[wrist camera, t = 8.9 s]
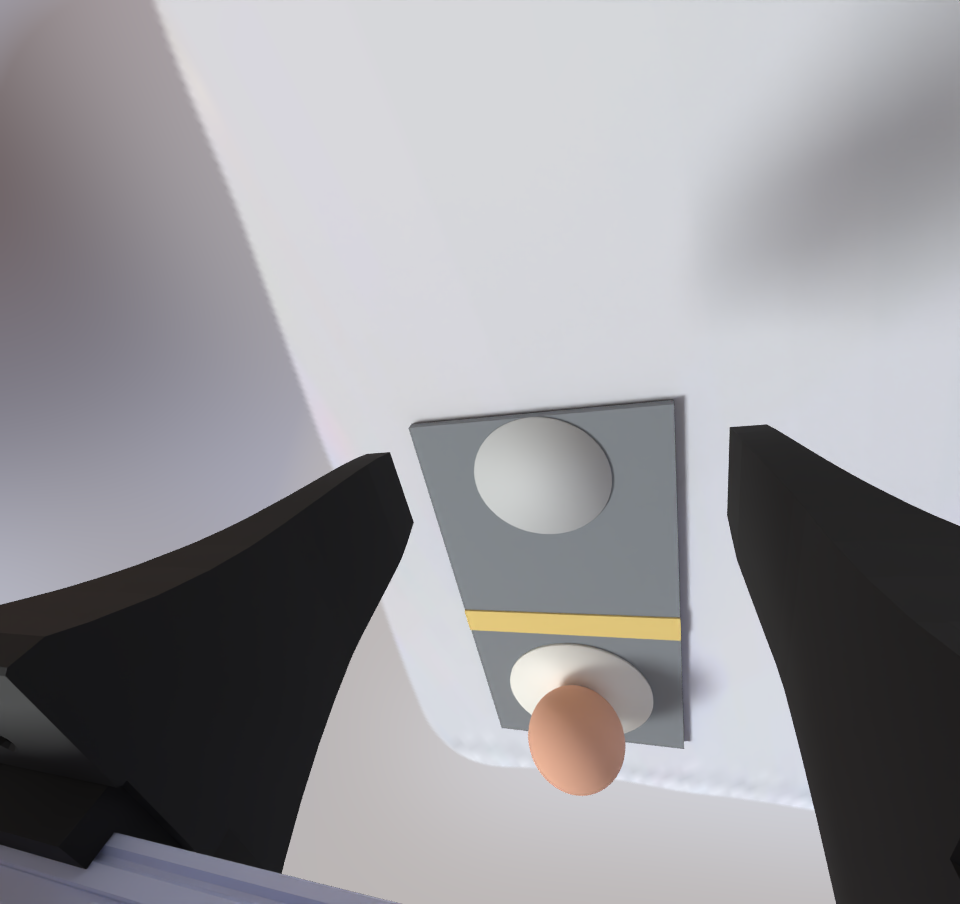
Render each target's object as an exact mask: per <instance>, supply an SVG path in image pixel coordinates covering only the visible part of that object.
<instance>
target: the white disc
mask: <svg viewBox="0 0 960 904" xmlns="http://www.w3.org/2000/svg"><path fill="white" fill-rule="evenodd" d="M510 684H511V689H512V692H513V694H514V696H515V698H516V699H517V701H518V702H519V703H520V705H521V706H522V707H523V708H524V709H525V710H526V711H527V712H529V713H530V714H531V715H532V713H533V711H534V709H535V707H536V705H537V704H538V702H539V701H540V700H541V699H542V698H543V697H544V696H545V695H546V694H547V693H548V692H550V691H552V690H554V689H555V688H558V687H561V686H566V685H577V686H583V687H586V688H589V689H591V690H593V691H595V692H597V693H598V694H600V695H601V696H602V697H603V698H605V699H606V700H607V701H608V702H609V704H610V705H611V706H612V707H613V709H614V710H615V712H616V713H617V715H618V717H619V719H620V722H621V724H622V727H623V731H624V733H628V732H630V731H632V730H635V729H636V728H638V727H640V726H641V725H642V724H643V723H645V722H646V720H647V719H648V718H649V716H650V714H651V713H652V709H653V694H652V690H651V687H650V685H649V683H648V681H647V680H646V678H645V677H644V676H643V675H642V673H641V672H640V671H639V670H637V669H636V668H635V667H634V666H633V665H631V664H630V663H629V662H627V661H626V660H624V659H622V658H621V657H619V656H617V655H615V654H613V653H610V652H608V651H605V650H602V649H600V648H596V647H592V646H588V645H582V644H574V643H556V644H548V645H543V646H540V647H537V648H534V649H532V650H530V651H528V652H526V653H525V654H523V655H522V656H521V657H520V658H519V659H518V660H517V661H516V662H515V664H514V666H513V668H512V672H511V676H510Z"/></svg>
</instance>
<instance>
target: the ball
mask: <svg viewBox="0 0 960 904" xmlns="http://www.w3.org/2000/svg"><path fill="white" fill-rule="evenodd" d="M528 740H529V746H530V752H531V755H532V758H533V760H534V762H535V765H536V766H537V768H538V770H539V771H540V773H541V774H542V775H543V777H544V778H545V779H546V780H547V781H548V782H549V783H550V784H552V785H553V786H554V787H556V788H557V789H559V790H561V791H563V792H565V793H568V794H572V795H579V796H585V795H591V794H595V793H597V792H600V791H601V790H603V789H605V788H606V787H607V786H608V785H610V784H611V783H612V782H613V780H614V779H615V778H616V777H617V775H618V773H619V771H620V769H621V767H622V764H623V760H624V755H625V736H624V731H623V727H622V724H621V722H620V719H619V717H618V715H617V713H616V712H615V710H614V709H613V707H612V706H611V705H610V704H609V702H608V701H607V700H606V699H605V698H603V697H602V696H601V695H600V694H598V693H597V692H595V691H593V690H591V689H589V688H586V687H583V686H577V685H566V686H561V687H558V688H555V689H554V690H552V691H550V692H548V693H547V694H546V695H545V696H544V697H543V698H542V699H541V700H540V701H539V702H538V704H537V705H536V707H535V709H534V711H533V713H532V716H531V719H530V723H529V731H528Z"/></svg>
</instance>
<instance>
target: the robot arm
mask: <svg viewBox="0 0 960 904" xmlns="http://www.w3.org/2000/svg"><path fill="white" fill-rule="evenodd" d="M727 516H728V521H729V526H730V530H731V535H732V540H733V544H734V549H735V553H736V557H737V561H738V564H739V566H740V569H741V572H742V575H743V577H744V580H745V583H746V585H747V588H748V591H749V593H750V596H751V599H752V601H753V604H754V607H755V609H756V612H757V615H758V617H759V620H760V623H761V625H762V628H763V631H764V633H765V636H766V639H767V641H768V644H769V647H770V649H771V652H772V655H773V657H774V660H775V663H776V665H777V668H778V671H779V675H780V678H781V681H782V684H783V687H784V690H785V694H786V697H787V701H788V705H789V709H790V713H791V717H792V721H793V725H794V728H795V732H796V736H797V740H798V744H799V748H800V752H801V756H802V760H803V764H804V768H805V772H806V776H807V780H808V785H809V789H810V793H811V797H812V801H813V805H814V809H815V813H816V817H817V821H818V826H819V830H820V834H821V839H822V843H823V848H824V852H825V856H826V861H827V865H828V870H829V874H830V878H831V883H832V887H833V891H834V896H835V900H836V904H960V526H958V525H956V524H953V523H951V522H949V521H946V520H944V519H941V518H939V517H937V516H934V515H932V514H930V513H928V512H925V511H923V510H921V509H919V508H917V507H915V506H912V505H910V504H908V503H906V502H904V501H902V500H900V499H898V498H896V497H894V496H892V495H890V494H888V493H886V492H884V491H882V490H880V489H878V488H876V487H874V486H872V485H870V484H868V483H867V482H865V481H863V480H861V479H859V478H857V477H856V476H854V475H852V474H850V473H848V472H846V471H845V470H843V469H841V468H839V467H838V466H836V465H834V464H833V463H831V462H829V461H827V460H826V459H824V458H822V457H821V456H819V455H817V454H816V453H814V452H812V451H811V450H809V449H807V448H806V447H804V446H802V445H801V444H799V443H797V442H796V441H794V440H793V439H791V438H789V437H788V436H786V435H784V434H783V433H781V432H779V431H778V430H776V429H774V428H772V427H770V426H768V425H754V426H741V427H730V439H729V473H728V508H727ZM413 523H414V522H413V519H412V516H411V513H410V510H409V507H408V504H407V502H406V499H405V496H404V493H403V490H402V487H401V484H400V481H399V478H398V475H397V472H396V469H395V466H394V463H393V460H392V457H391V454H390V452H387V453H374V454H366V455H363V456H361V457H358V458H356V459H354V460H352V461H350V462H348V463H346V464H344V465H342V466H340V467H338V468H336V469H335V470H333V471H331V472H330V473H328V474H326V475H324V476H322V477H320V478H319V479H317V480H315V481H313V482H312V483H310V484H308V485H307V486H305V487H303V488H301V489H299V490H298V491H296V492H294V493H293V494H291V495H289V496H287V497H286V498H284V499H282V500H280V501H278V502H276V503H274V504H272V505H271V506H269V507H267V508H265V509H263V510H261V511H259V512H258V513H256V514H254V515H252V516H250V517H248V518H246V519H244V520H242V521H240V522H238V523H236V524H234V525H232V526H230V527H228V528H226V529H224V530H222V531H220V532H217V533H215V534H213V535H211V536H209V537H206V538H204V539H202V540H200V541H197V542H195V543H193V544H190V545H188V546H185V547H183V548H180V549H178V550H175V551H172V552H170V553H167V554H164V555H162V556H160V557H157V558H154V559H152V560H149V561H147V562H144V563H141V564H139V565H136V566H133V567H130V568H127V569H124V570H121V571H118V572H115V573H112V574H109V575H106V576H103V577H100V578H97V579H93V580H90V581H87V582H83V583H80V584H77V585H74V586H70V587H67V588H63V589H60V590H56V591H53V592H49V593H45V594H41V595H37V596H33V597H30V598H25V599H22V600H18V601H14V602H10V603H6V604H2V605H0V904H400V903H397V902H392V901H388V900H384V899H380V898H376V897H372V896H368V895H364V894H360V893H356V892H352V891H348V890H344V889H340V888H336V887H332V886H328V885H324V884H320V883H316V882H312V881H308V880H304V879H300V878H296V877H292V876H288V875H284V874H282V870H283V866H284V862H285V858H286V854H287V851H288V847H289V843H290V840H291V836H292V832H293V829H294V825H295V821H296V818H297V814H298V811H299V807H300V803H301V800H302V796H303V793H304V790H305V787H306V784H307V781H308V777H309V774H310V771H311V768H312V765H313V762H314V758H315V755H316V752H317V749H318V745H319V743H320V740H321V737H322V734H323V732H324V729H325V726H326V723H327V720H328V717H329V715H330V712H331V709H332V706H333V703H334V701H335V698H336V695H337V693H338V690H339V688H340V685H341V683H342V680H343V677H344V675H345V672H346V670H347V667H348V664H349V662H350V660H351V657H352V655H353V653H354V651H355V649H356V646H357V644H358V642H359V640H360V638H361V636H362V634H363V632H364V630H365V629H366V627H367V625H368V623H369V621H370V619H371V617H372V615H373V613H374V611H375V609H376V607H377V606H378V604H379V602H380V600H381V598H382V596H383V594H384V592H385V590H386V588H387V586H388V584H389V582H390V581H391V579H392V577H393V575H394V573H395V571H396V569H397V567H398V565H399V563H400V560H401V558H402V556H403V553H404V550H405V547H406V545H407V542H408V539H409V535H410V532H411V529H412V526H413Z"/></svg>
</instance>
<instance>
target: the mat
mask: <svg viewBox="0 0 960 904" xmlns="http://www.w3.org/2000/svg"><path fill="white" fill-rule="evenodd" d="M409 431H410V434H411V437H412V441H413V444H414V447H415V450H416V453H417V457H418V460H419V463H420V466H421V470H422V473H423V476H424V479H425V482H426V486H427V489H428V492H429V495H430V498H431V502H432V505H433V508H434V511H435V515H436V518H437V521H438V524H439V527H440V531H441V534H442V537H443V540H444V544H445V547H446V550H447V553H448V556H449V560H450V563H451V566H452V569H453V572H454V576H455V579H456V582H457V585H458V589H459V592H460V595H461V598H462V601H463V605H464V608H465V614H466V617H467V620H468V624H469V627H470V630H472V634H473V637H474V640H475V643H476V646H477V650H478V653H479V656H480V659H481V663H482V666H483V669H484V672H485V675H486V679H487V682H488V685H489V688H490V691H491V695H492V698H493V701H494V704H495V708H496V711H497V714H498V717H499V720H500V724H501V727H502V728H507V729H516V730H524V731H529V723H530V719H531V716H532V715H531V714H530V713H529V712H527V711H526V710H525V709H524V708H523V707H522V706H521V705H520V703H519V702H518V701H517V699H516V698H515V696H514V694H513V692H512V689H511V684H510V676H511V672H512V668H513V666H514V664H515V662H516V661H517V660H518V659H519V658H520V657H521V656H522V655H523V654H525V653H526V652H528V651H530V650H532V649H534V648H537V647H540V646H543V645H548V644H556V643H574V644H582V645H588V646H592V647H596V648H600V649H602V650H605V651H608V652H610V653H613V654H615V655H617V656H619V657H621V658H622V659H624V660H626V661H627V662H629V663H630V664H631V665H633V666H634V667H635V668H636V669H637V670H639V671H640V672H641V673H642V675H643V676H644V677H645V678H646V680H647V681H648V683H649V685H650V687H651V690H652V694H653V709H652V713H651V714H650V716H649V718H648V719H647V720H646V722H645V723H643V724H642V725H641V726H640V727H638V728H636V729H635V730H632V731H630V732H628V733H624V736H625V742H629V743H637V744H646V745H655V746H663V747H672V748H681V749H684V731H683V697H682V663H681V623H680V595H679V560H678V526H677V492H676V458H675V423H674V402H673V400H666V401H655V402H644V403H634V404H623V405H612V406H601V407H590V408H580V409H569V410H558V411H547V412H536V413H525V414H515V415H504V416H493V417H482V418H471V419H461V420H450V421H439V422H428V423H417V424H411V426H410V427H409Z"/></svg>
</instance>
